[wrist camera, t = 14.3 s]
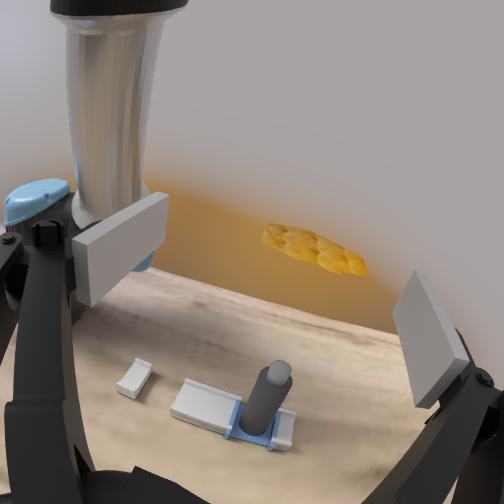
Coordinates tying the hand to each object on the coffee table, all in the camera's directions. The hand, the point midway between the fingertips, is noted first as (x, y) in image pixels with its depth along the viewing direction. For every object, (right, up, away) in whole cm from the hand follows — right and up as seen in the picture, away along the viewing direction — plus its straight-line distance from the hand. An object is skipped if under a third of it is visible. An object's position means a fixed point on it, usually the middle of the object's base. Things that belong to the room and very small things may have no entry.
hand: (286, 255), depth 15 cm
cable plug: (-1, -24, +23) cm, 33 cm away
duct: (-8, -22, +24) cm, 34 cm away
